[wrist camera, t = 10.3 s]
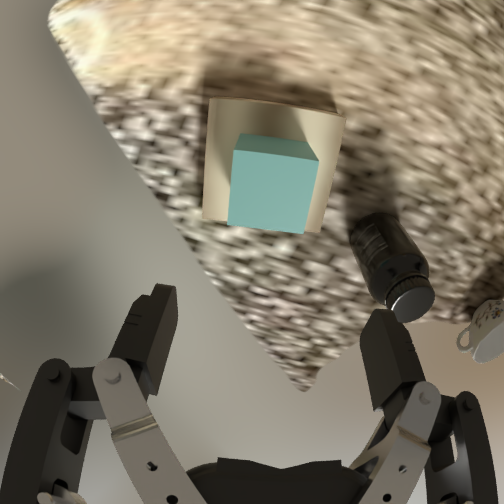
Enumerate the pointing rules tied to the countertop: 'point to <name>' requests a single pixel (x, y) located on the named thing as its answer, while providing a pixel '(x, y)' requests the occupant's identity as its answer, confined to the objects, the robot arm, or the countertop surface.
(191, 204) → the countertop surface
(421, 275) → the supplement bottle
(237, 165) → the teal cube
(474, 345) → the teacup
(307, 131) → the birch pedestal
